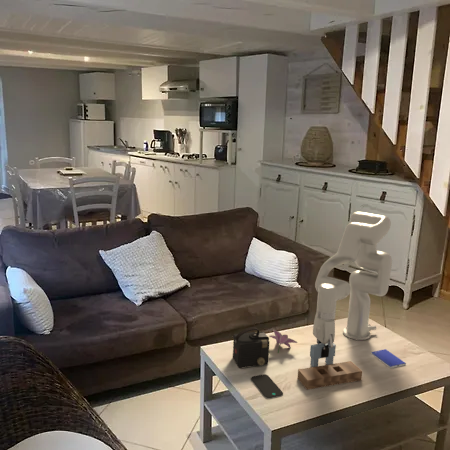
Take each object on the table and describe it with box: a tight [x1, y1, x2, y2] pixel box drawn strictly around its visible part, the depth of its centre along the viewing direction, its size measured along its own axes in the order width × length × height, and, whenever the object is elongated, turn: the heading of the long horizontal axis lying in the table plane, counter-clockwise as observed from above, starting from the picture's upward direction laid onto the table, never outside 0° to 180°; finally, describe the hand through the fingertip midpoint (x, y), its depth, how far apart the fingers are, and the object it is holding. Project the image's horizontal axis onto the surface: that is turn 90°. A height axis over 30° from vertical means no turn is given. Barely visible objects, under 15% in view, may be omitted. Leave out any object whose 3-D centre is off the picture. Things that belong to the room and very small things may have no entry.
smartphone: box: [250, 373, 284, 400], centre depth 182 cm, size 8×1×15 cm
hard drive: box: [370, 348, 407, 369], centre depth 205 cm, size 2×8×12 cm
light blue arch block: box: [309, 342, 337, 367], centre depth 197 cm, size 10×3×9 cm, turn 109°
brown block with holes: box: [297, 360, 363, 390], centre depth 187 cm, size 24×8×4 cm, turn 109°
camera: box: [232, 326, 270, 369], centre depth 197 cm, size 11×14×15 cm
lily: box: [268, 329, 299, 354], centre depth 209 cm, size 12×12×10 cm
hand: (322, 354), depth 197 cm, fingers closed on light blue arch block, 3 cm apart
